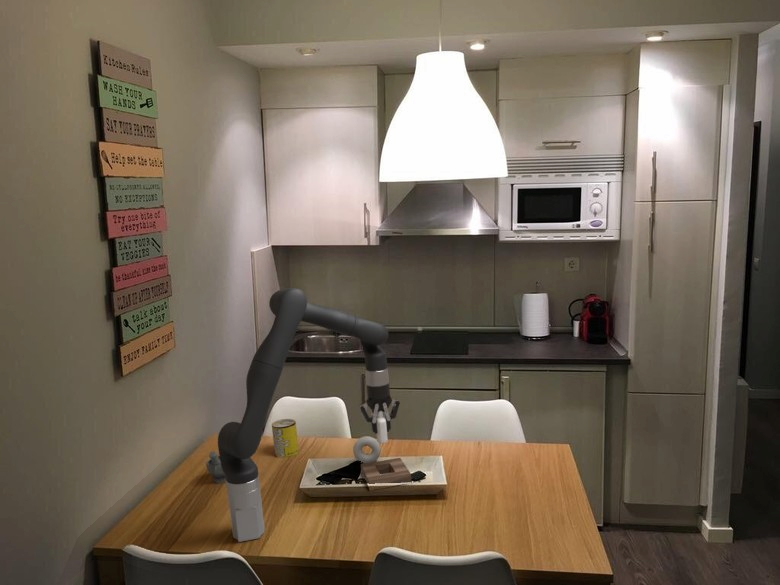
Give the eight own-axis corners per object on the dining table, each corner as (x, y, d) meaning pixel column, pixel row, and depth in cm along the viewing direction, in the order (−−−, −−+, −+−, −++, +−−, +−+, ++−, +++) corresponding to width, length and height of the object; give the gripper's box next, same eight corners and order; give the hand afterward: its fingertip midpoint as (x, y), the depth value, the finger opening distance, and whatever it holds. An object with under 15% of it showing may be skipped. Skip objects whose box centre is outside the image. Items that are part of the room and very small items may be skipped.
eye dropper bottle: (390, 437, 226) (388, 403, 225) (386, 444, 221) (383, 409, 219) (378, 437, 228) (375, 403, 226) (373, 443, 222) (370, 409, 220)
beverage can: (279, 448, 260) (275, 419, 259) (301, 448, 259) (298, 418, 257) (271, 458, 252) (268, 427, 250) (295, 457, 250) (291, 427, 248)
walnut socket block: (411, 483, 221) (410, 473, 221) (369, 491, 218) (369, 480, 218) (400, 467, 235) (400, 457, 234) (361, 473, 232) (360, 464, 231)
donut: (382, 460, 242) (380, 433, 240) (382, 464, 238) (379, 437, 237) (354, 462, 242) (352, 435, 240) (353, 466, 239) (351, 439, 237)
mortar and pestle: (215, 473, 242) (211, 441, 240) (240, 473, 240) (236, 441, 239) (202, 487, 231) (198, 454, 229) (228, 487, 229) (224, 453, 228)
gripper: (358, 388, 216) (363, 439, 219) (401, 382, 219) (405, 432, 222) (354, 382, 223) (358, 431, 226) (395, 376, 226) (399, 425, 229)
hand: (381, 431), depth 224 cm, fingers closed on eye dropper bottle, 3 cm apart
